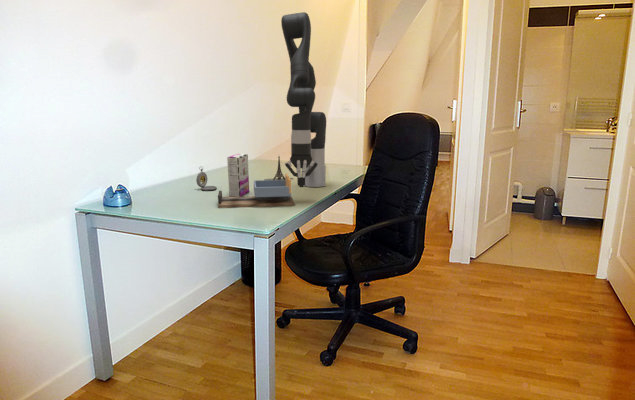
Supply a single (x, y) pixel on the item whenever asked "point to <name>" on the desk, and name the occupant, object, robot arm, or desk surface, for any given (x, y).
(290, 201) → the track
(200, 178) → the pocket watch
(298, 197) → the desk surface
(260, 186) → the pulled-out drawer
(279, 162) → the eiffel tower figurine
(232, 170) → the candy bar box
